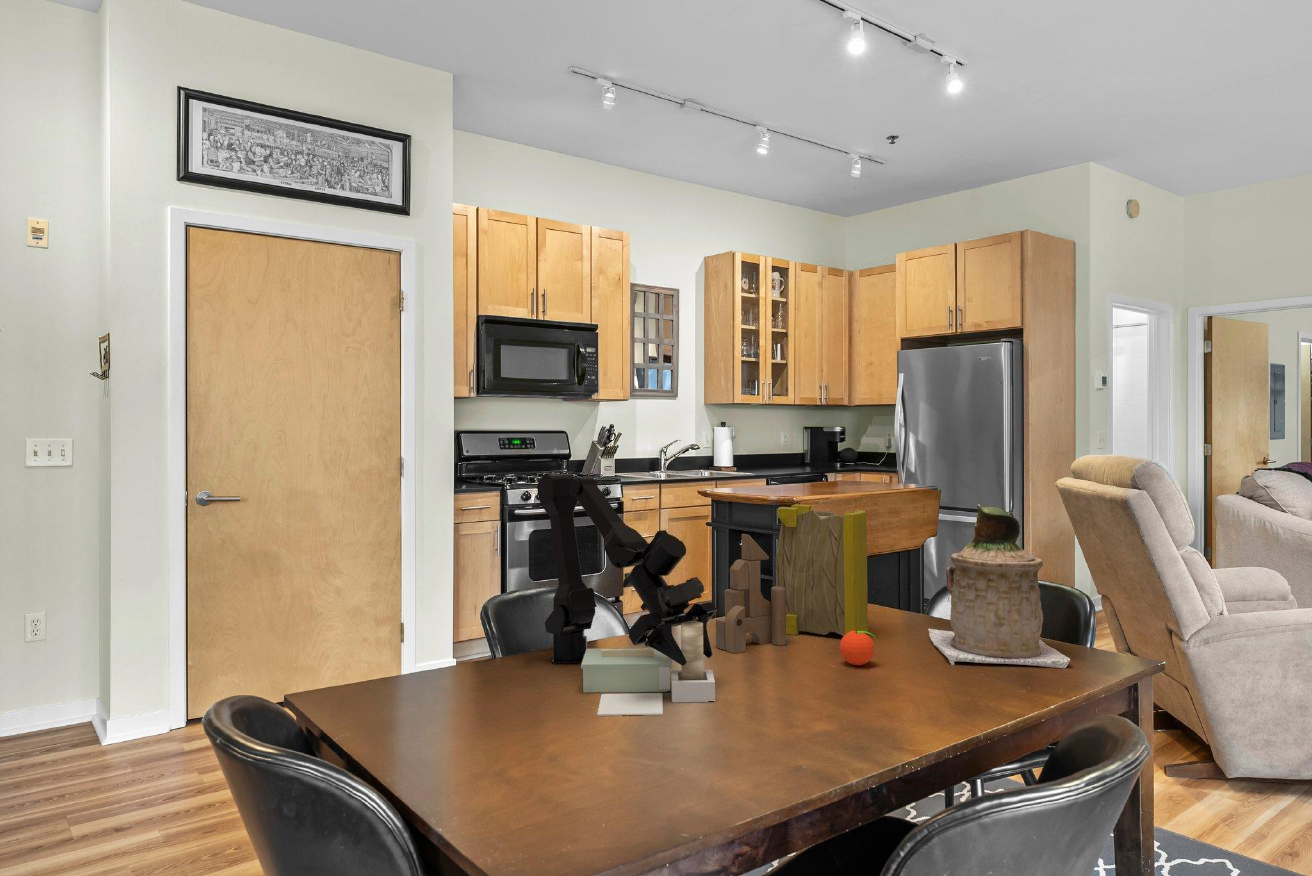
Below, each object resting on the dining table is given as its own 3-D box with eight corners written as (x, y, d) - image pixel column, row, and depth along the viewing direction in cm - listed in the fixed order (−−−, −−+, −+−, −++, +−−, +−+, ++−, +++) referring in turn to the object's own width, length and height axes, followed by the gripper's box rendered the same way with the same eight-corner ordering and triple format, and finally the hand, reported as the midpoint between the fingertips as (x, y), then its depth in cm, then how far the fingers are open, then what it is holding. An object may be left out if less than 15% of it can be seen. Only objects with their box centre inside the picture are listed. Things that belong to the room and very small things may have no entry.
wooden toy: (733, 654, 176) (732, 538, 176) (715, 648, 182) (714, 535, 182) (789, 644, 184) (787, 533, 184) (770, 638, 190) (769, 531, 190)
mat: (597, 716, 137) (597, 714, 137) (601, 695, 148) (601, 694, 148) (662, 715, 137) (662, 713, 137) (662, 695, 148) (662, 693, 148)
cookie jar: (1075, 670, 162) (1073, 508, 162) (945, 666, 166) (943, 508, 166) (1037, 640, 186) (1035, 499, 186) (925, 637, 190) (923, 499, 190)
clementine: (877, 660, 170) (876, 626, 170) (883, 669, 163) (882, 634, 163) (837, 660, 171) (837, 626, 171) (842, 669, 164) (841, 633, 164)
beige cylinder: (682, 699, 146) (681, 626, 146) (681, 692, 150) (680, 621, 150) (704, 699, 146) (703, 626, 146) (703, 692, 150) (702, 621, 150)
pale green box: (578, 703, 144) (578, 667, 144) (586, 675, 162) (586, 642, 162) (715, 702, 144) (714, 665, 144) (708, 673, 162) (708, 641, 162)
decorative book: (871, 632, 194) (869, 506, 194) (856, 642, 185) (854, 510, 185) (791, 623, 205) (790, 504, 205) (774, 633, 195) (772, 507, 196)
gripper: (639, 570, 144) (685, 643, 136) (709, 558, 157) (755, 624, 149) (609, 608, 150) (652, 681, 142) (679, 594, 163) (722, 660, 155)
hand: (698, 660), depth 147 cm, fingers open, 7 cm apart
